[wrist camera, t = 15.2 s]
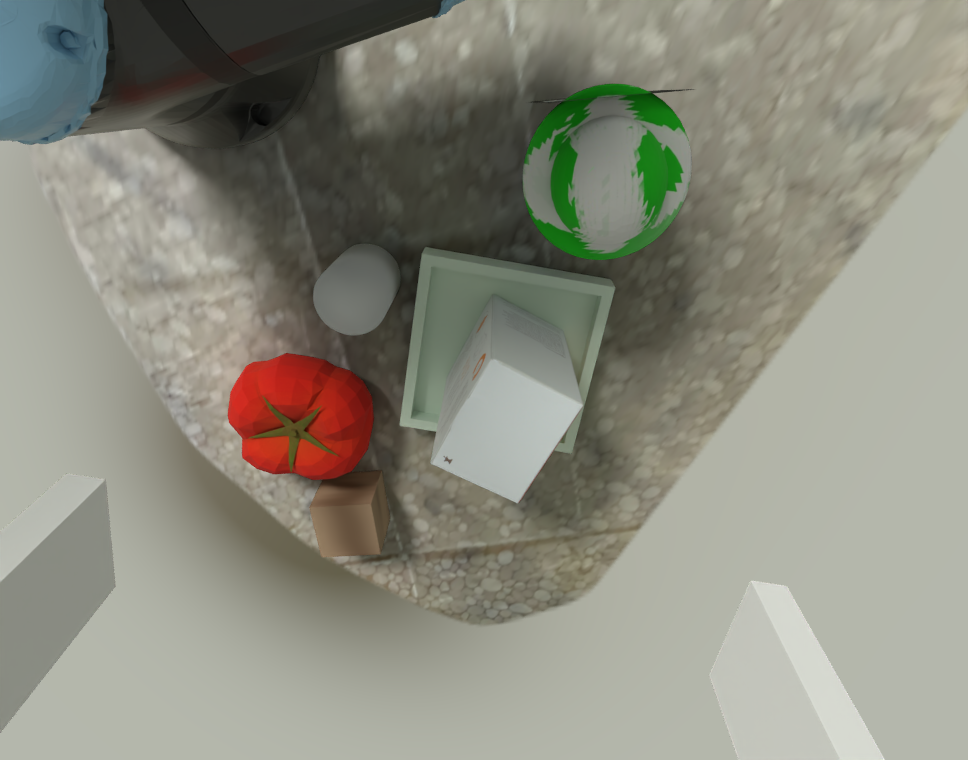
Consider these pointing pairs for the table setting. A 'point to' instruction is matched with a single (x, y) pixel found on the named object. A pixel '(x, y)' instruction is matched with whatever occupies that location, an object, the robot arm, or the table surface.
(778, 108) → the table surface
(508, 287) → the tray
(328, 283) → the grey cylinder
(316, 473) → the tomato
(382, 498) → the walnut cube
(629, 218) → the toy
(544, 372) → the small box
